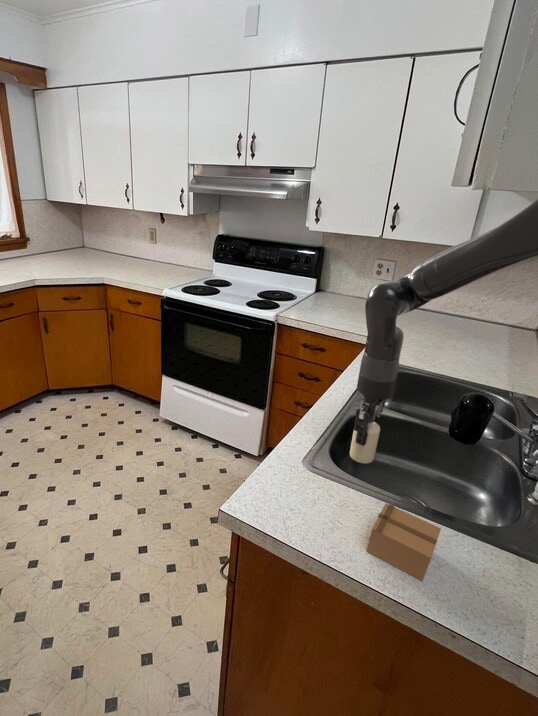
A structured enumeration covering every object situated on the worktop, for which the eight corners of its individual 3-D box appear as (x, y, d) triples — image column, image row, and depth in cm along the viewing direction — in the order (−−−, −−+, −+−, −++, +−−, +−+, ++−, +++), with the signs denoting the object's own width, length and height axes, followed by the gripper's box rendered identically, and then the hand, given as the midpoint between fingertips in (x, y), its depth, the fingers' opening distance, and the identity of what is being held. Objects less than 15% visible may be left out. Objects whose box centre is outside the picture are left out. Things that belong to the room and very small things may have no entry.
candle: (378, 457, 100) (386, 421, 96) (365, 467, 97) (372, 430, 93) (358, 446, 104) (364, 411, 100) (344, 455, 101) (351, 419, 96)
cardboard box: (433, 551, 80) (441, 527, 77) (422, 582, 74) (431, 557, 72) (379, 524, 86) (385, 502, 83) (365, 551, 80) (371, 527, 77)
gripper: (385, 391, 84) (370, 459, 91) (405, 365, 94) (391, 428, 101) (348, 379, 88) (337, 446, 95) (372, 356, 98) (360, 418, 105)
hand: (365, 437), depth 98 cm, fingers closed on candle, 5 cm apart
